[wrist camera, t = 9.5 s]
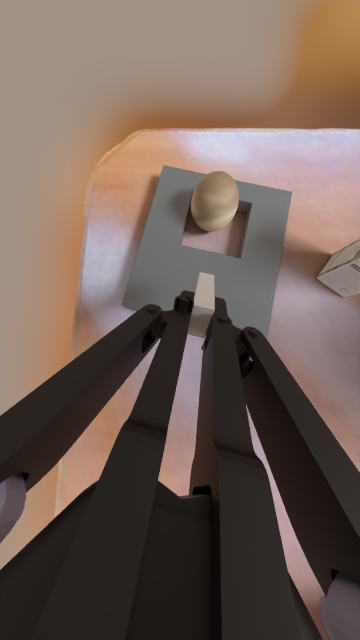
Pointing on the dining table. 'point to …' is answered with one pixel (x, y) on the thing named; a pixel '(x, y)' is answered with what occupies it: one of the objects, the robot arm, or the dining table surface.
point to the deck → (186, 263)
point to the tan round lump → (214, 201)
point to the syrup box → (343, 271)
